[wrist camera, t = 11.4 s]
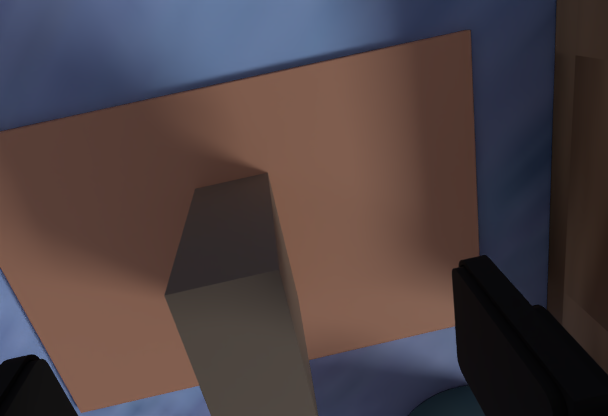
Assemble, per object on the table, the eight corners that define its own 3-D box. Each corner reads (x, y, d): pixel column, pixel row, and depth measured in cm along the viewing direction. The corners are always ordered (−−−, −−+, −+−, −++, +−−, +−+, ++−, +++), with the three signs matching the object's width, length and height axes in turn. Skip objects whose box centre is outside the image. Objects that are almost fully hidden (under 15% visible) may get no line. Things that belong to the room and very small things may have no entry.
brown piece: (459, 29, 15) (615, 46, 8) (472, 307, 19) (580, 452, 13) (-51, 139, 14) (-281, 244, 8) (87, 397, 19) (8, 589, 13)
